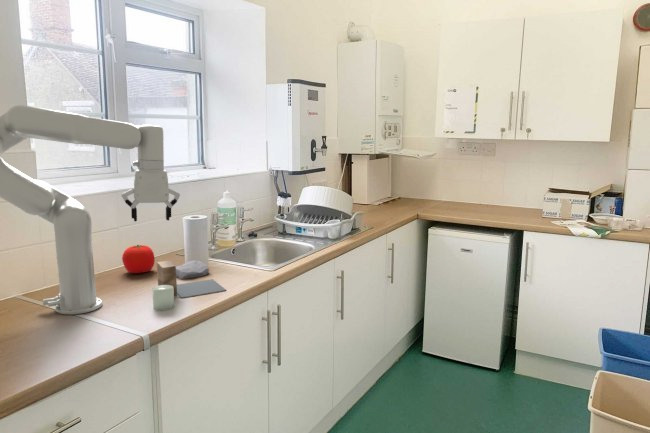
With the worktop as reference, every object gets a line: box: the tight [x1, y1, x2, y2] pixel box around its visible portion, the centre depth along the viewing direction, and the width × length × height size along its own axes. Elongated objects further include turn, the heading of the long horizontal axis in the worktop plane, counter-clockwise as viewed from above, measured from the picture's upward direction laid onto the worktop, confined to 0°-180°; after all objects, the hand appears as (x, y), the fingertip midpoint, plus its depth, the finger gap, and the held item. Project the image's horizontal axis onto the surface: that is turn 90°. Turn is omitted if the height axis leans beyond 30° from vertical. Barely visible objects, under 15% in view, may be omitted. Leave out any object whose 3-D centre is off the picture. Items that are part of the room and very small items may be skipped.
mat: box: [177, 278, 227, 299], centre depth 167 cm, size 15×14×1 cm
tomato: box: [121, 244, 156, 274], centre depth 185 cm, size 11×12×10 cm
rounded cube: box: [152, 285, 175, 311], centre depth 150 cm, size 6×6×6 cm
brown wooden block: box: [156, 260, 178, 298], centre depth 161 cm, size 4×8×10 cm, turn 31°
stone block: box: [175, 260, 209, 280], centre depth 184 cm, size 12×5×10 cm
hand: (151, 220), depth 156 cm, fingers open, 9 cm apart
